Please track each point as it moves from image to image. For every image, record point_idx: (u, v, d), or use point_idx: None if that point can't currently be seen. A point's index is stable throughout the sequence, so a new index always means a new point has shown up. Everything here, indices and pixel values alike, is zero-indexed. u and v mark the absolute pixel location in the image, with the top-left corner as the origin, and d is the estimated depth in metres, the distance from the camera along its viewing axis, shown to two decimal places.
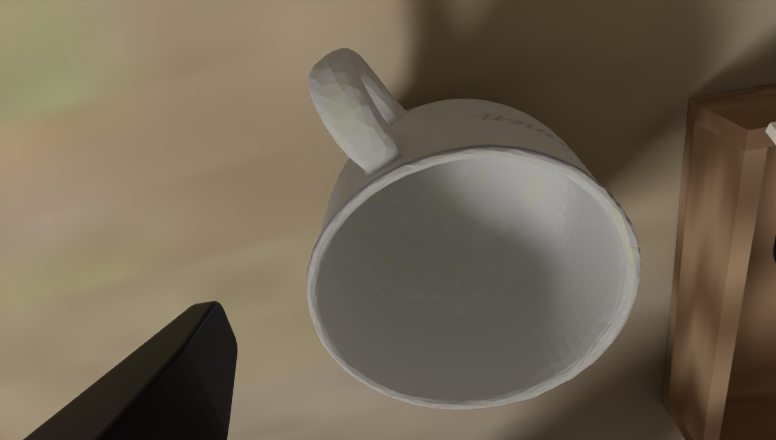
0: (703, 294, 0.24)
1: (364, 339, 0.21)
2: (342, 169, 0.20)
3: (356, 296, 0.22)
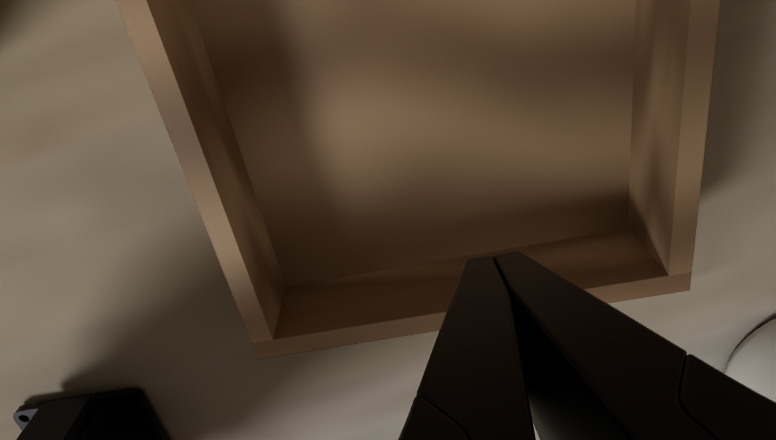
0: None
1: None
2: None
3: None
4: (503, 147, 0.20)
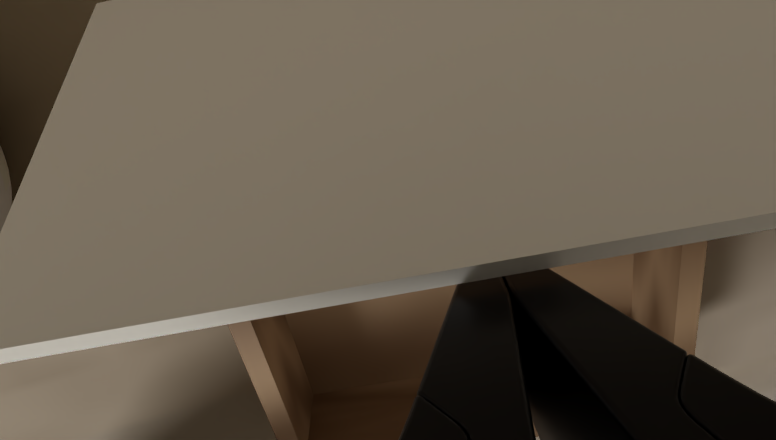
0: None
1: None
2: None
3: None
4: None
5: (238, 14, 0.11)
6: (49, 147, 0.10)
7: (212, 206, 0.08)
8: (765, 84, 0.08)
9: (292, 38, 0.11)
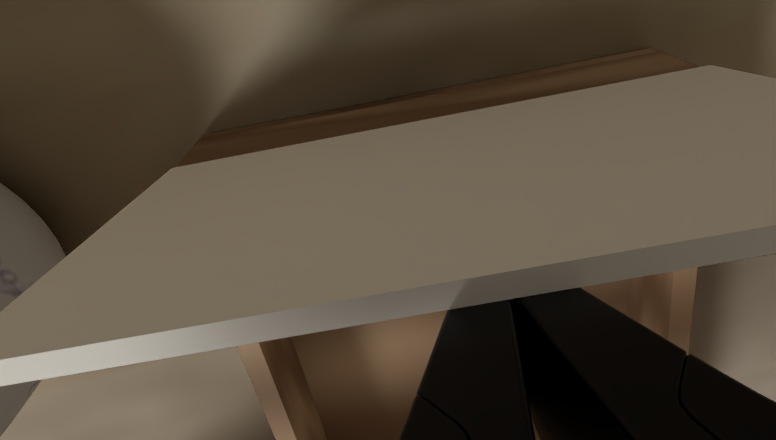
0: None
1: None
2: None
3: None
4: None
5: (285, 163, 0.13)
6: (96, 239, 0.11)
7: (228, 260, 0.09)
8: (755, 156, 0.08)
9: (327, 169, 0.12)
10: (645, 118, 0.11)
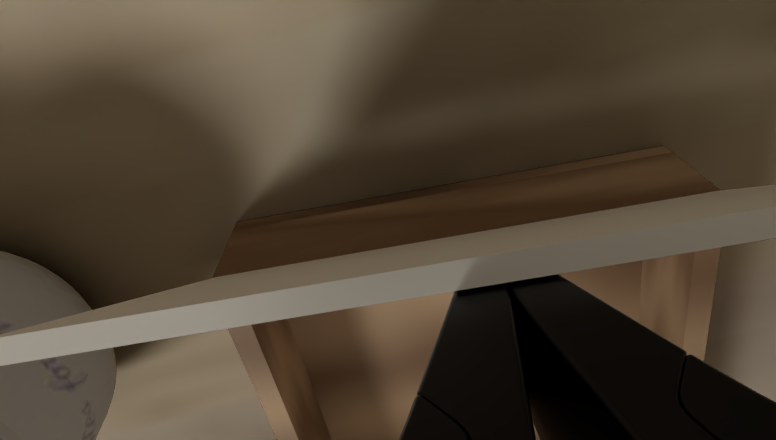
0: None
1: None
2: None
3: None
4: None
5: (319, 261, 0.15)
6: (139, 298, 0.12)
7: (254, 285, 0.09)
8: (747, 200, 0.09)
9: (355, 257, 0.13)
10: (651, 208, 0.12)
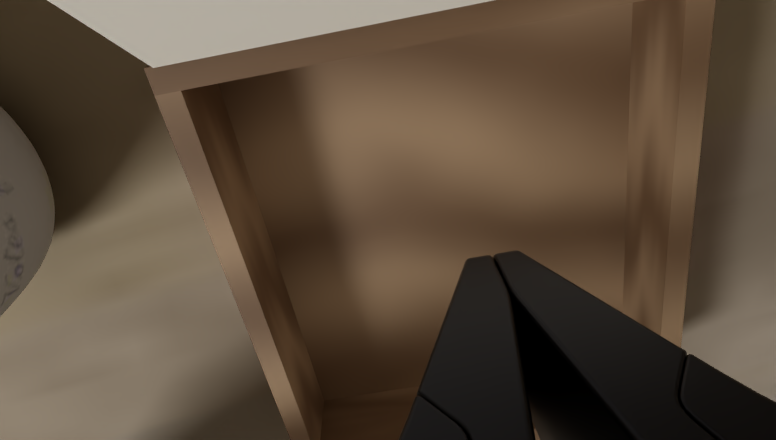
0: None
1: None
2: None
3: None
4: None
5: None
6: None
7: None
8: None
9: None
10: None
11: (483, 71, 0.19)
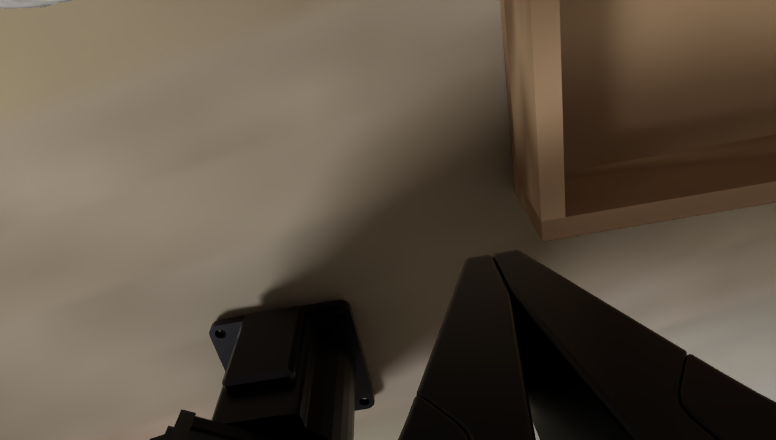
0: None
1: None
2: None
3: None
4: None
5: None
6: None
7: None
8: None
9: None
10: None
11: None
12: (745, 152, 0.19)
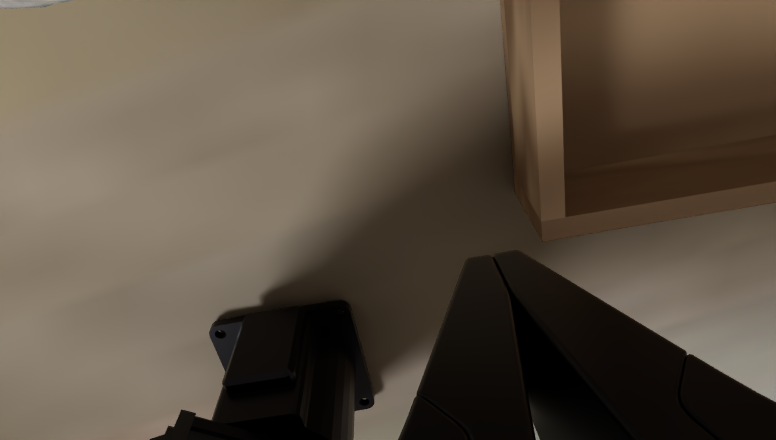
0: None
1: None
2: None
3: None
4: None
5: None
6: None
7: None
8: None
9: None
10: None
11: None
12: (745, 152, 0.19)
